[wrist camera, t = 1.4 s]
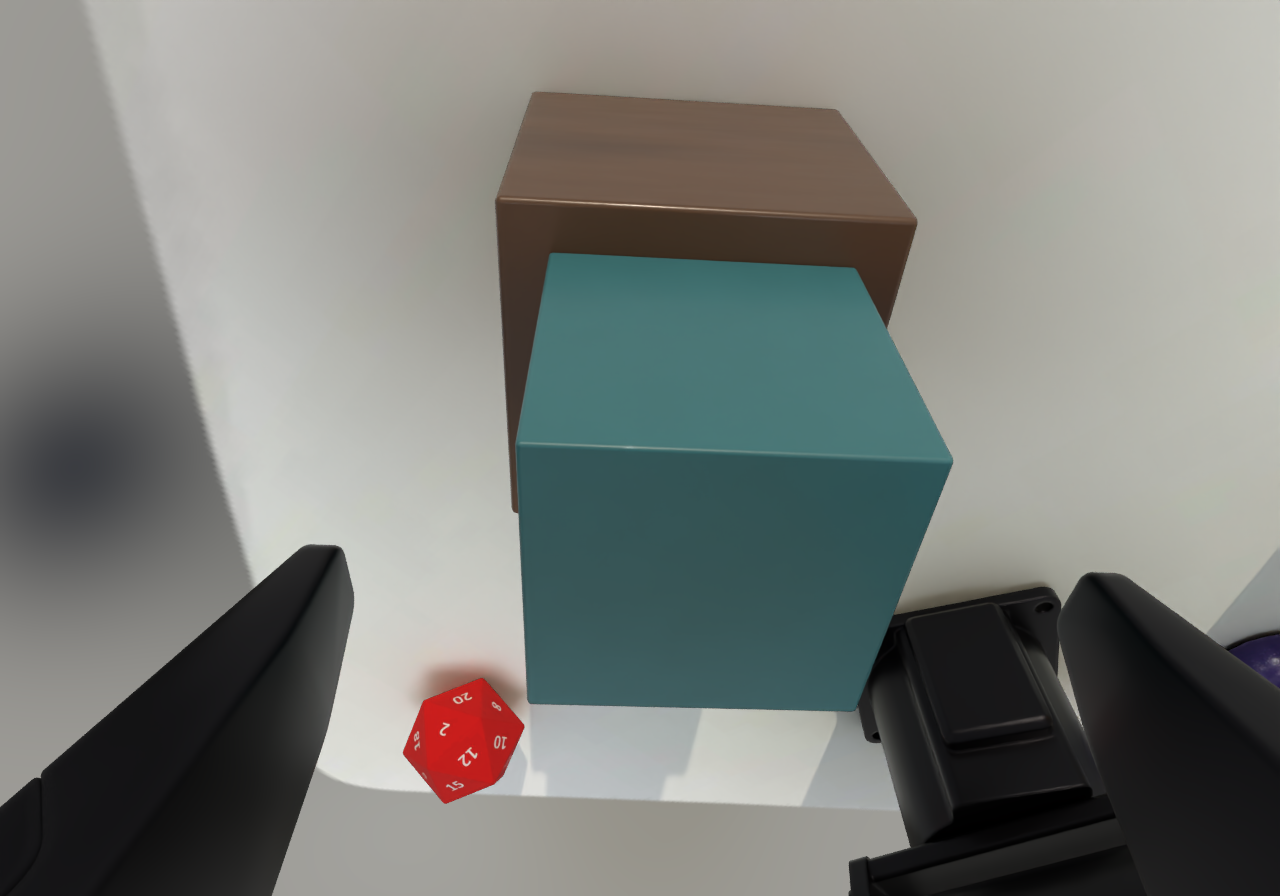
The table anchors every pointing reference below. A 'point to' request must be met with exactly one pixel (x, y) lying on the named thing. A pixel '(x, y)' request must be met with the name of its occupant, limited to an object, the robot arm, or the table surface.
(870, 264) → the walnut block
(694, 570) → the teal cube
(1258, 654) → the toy lamp
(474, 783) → the die
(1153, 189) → the table surface
